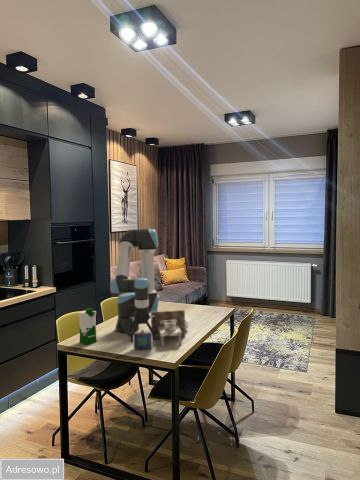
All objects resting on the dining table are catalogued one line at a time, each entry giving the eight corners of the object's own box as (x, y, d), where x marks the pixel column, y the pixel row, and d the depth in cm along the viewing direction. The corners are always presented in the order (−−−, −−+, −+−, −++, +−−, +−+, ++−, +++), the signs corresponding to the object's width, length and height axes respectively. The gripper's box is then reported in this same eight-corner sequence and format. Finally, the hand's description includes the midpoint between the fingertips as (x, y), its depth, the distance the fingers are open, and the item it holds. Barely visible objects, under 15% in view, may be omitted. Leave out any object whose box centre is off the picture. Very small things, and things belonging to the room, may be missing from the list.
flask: (151, 347, 203) (150, 328, 202) (151, 349, 200) (150, 330, 199) (134, 348, 202) (134, 329, 201) (134, 350, 199) (133, 331, 198)
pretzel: (191, 328, 237) (190, 315, 236) (186, 334, 225) (186, 320, 225) (174, 327, 240) (174, 314, 239) (168, 333, 228) (168, 319, 228)
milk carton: (86, 345, 208) (85, 311, 207) (77, 342, 214) (75, 308, 212) (99, 341, 215) (97, 307, 213) (89, 338, 220) (88, 305, 219)
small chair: (153, 347, 203) (153, 319, 202) (151, 338, 219) (150, 311, 218) (189, 344, 206) (188, 316, 205) (184, 336, 222) (184, 310, 221)
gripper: (121, 309, 194) (122, 351, 196) (162, 307, 198) (163, 348, 199) (121, 306, 202) (122, 346, 203) (161, 304, 205) (162, 343, 206)
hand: (142, 347), depth 201 cm, fingers closed on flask, 9 cm apart
